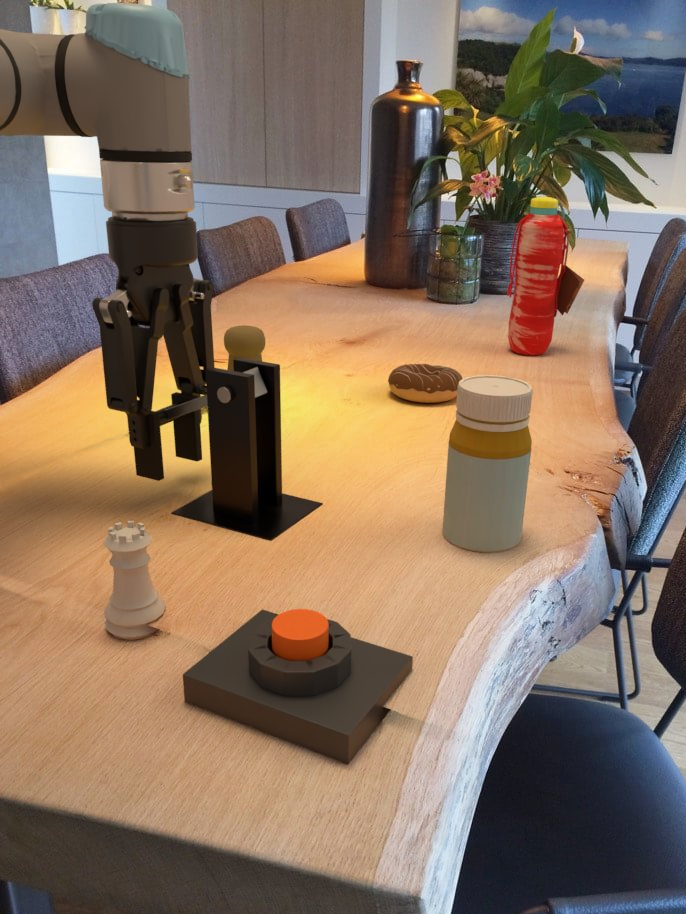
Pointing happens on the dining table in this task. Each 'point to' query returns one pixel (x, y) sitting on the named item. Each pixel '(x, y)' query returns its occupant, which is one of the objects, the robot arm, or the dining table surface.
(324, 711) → the control block
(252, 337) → the cork
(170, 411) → the lever
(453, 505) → the bottle
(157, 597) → the rook chess piece
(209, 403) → the bracket
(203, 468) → the dining table surface
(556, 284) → the water bottle
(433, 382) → the donut
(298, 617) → the button
